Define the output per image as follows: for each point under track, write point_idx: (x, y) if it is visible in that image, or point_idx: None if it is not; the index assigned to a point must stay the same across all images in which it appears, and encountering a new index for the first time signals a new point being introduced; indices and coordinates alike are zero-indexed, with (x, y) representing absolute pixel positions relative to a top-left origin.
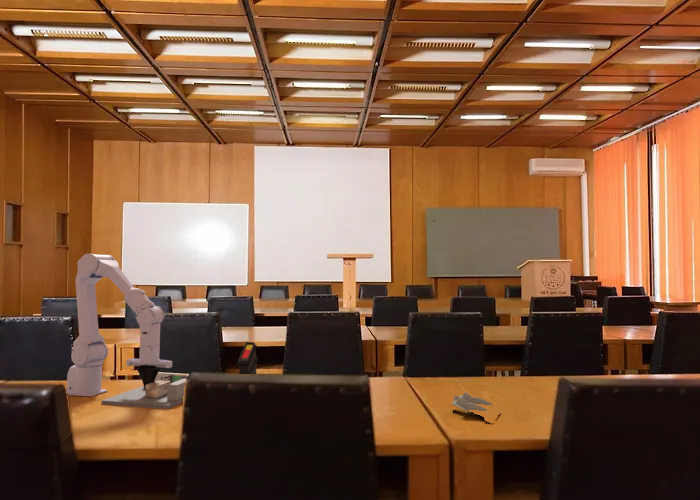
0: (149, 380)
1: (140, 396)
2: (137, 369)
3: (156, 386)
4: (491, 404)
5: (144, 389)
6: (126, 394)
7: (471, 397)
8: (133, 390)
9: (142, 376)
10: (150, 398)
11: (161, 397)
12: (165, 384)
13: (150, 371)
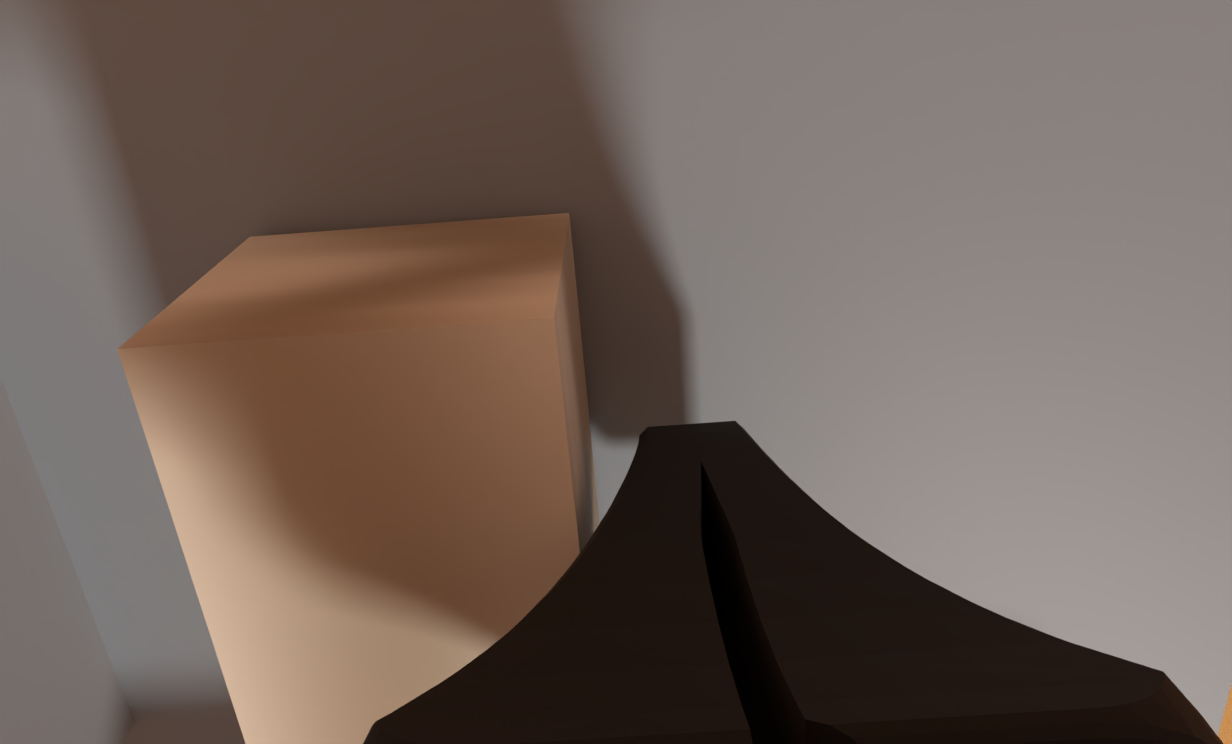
0: (579, 560)
1: (735, 247)
2: (1211, 739)
3: (166, 333)
4: None
5: None
6: (1160, 294)
7: None
8: (1186, 608)
9: (851, 590)
10: (381, 160)
11: None
12: (243, 664)
13: (383, 730)
